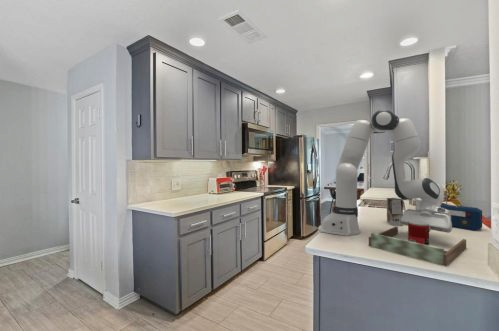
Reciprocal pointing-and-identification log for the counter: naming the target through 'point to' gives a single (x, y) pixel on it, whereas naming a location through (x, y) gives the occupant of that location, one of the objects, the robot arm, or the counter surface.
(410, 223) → the canned food
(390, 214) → the coffee box
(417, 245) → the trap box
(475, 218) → the radio
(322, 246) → the counter surface
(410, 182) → the robot arm
